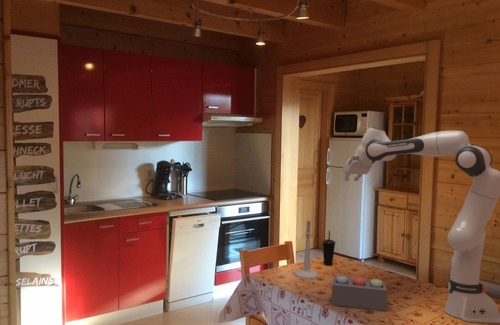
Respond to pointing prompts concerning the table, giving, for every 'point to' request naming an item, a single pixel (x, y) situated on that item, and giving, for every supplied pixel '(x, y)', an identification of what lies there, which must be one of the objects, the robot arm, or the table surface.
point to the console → (359, 295)
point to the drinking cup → (328, 251)
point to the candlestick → (307, 259)
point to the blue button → (341, 279)
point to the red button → (359, 281)
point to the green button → (376, 283)
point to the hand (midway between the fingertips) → (350, 180)
